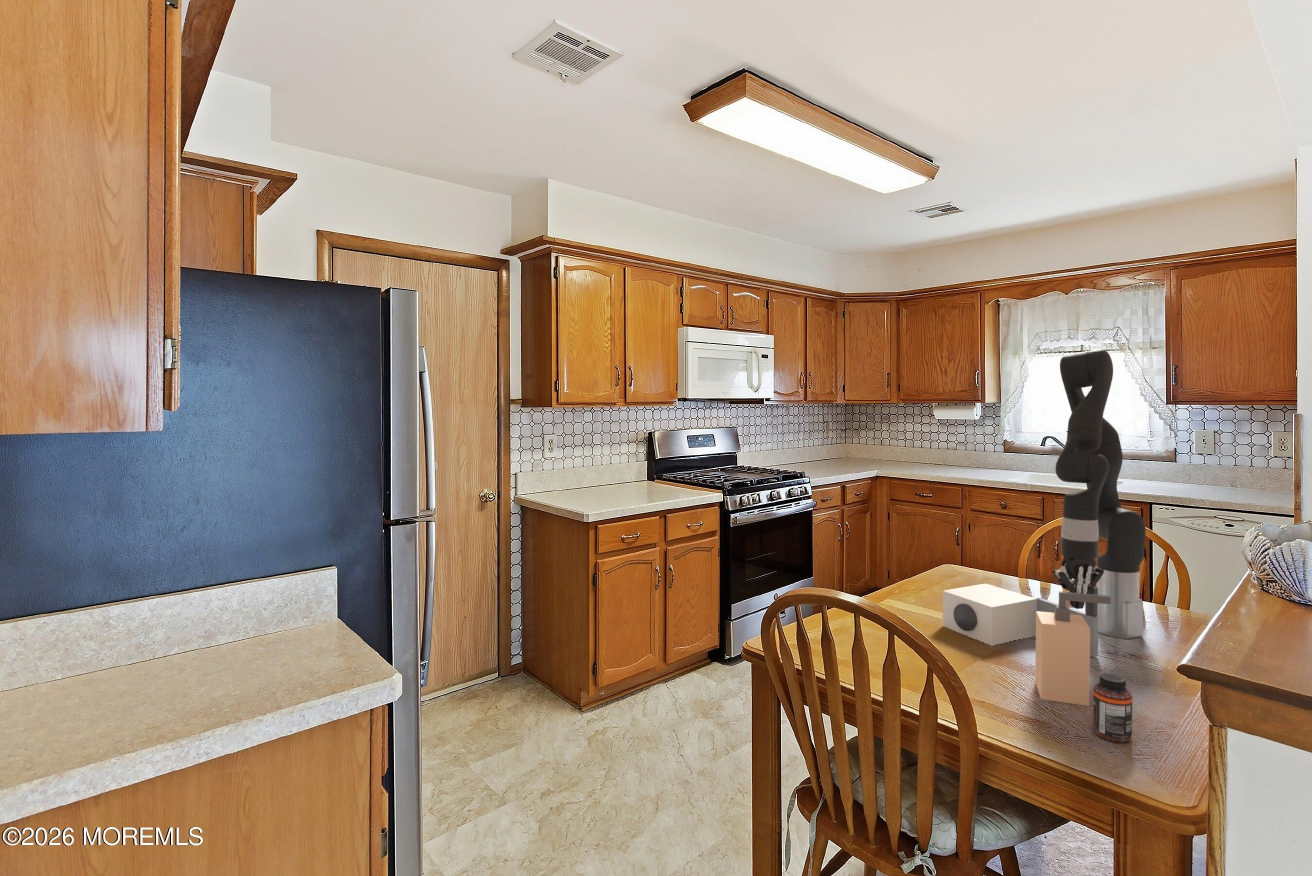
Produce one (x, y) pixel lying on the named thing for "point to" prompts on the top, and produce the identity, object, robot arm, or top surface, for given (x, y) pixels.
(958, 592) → the camera box
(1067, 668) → the soap dispenser
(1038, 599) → the side door
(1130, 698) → the supplement bottle
